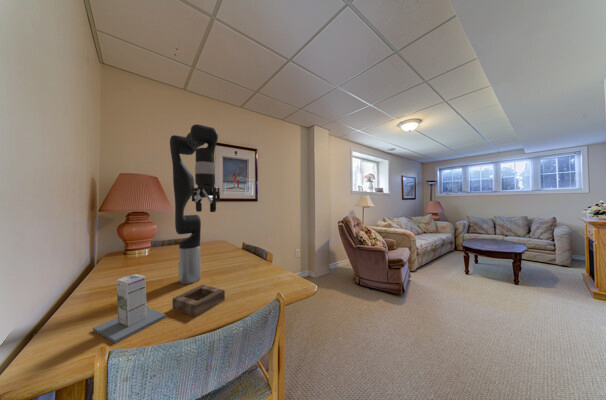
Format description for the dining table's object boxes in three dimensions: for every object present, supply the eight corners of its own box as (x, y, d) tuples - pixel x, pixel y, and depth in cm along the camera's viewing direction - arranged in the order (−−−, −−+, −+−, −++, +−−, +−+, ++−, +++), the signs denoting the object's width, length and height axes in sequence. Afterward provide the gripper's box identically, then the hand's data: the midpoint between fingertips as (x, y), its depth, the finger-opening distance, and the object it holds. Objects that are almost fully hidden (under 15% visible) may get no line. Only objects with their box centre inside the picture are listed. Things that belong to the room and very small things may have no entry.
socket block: (172, 308, 76) (172, 298, 76) (202, 293, 88) (202, 284, 88) (195, 317, 71) (195, 305, 70) (224, 299, 82) (224, 290, 82)
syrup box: (147, 317, 69) (146, 275, 69) (127, 327, 63) (126, 282, 63) (137, 314, 71) (136, 273, 71) (116, 323, 66) (115, 279, 65)
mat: (92, 330, 64) (92, 327, 64) (143, 308, 76) (143, 305, 76) (115, 343, 58) (115, 340, 58) (165, 317, 70) (165, 314, 70)
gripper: (224, 173, 86) (224, 211, 86) (201, 175, 92) (202, 210, 92) (209, 171, 79) (210, 212, 79) (185, 173, 85) (186, 212, 85)
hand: (205, 211), depth 85 cm, fingers open, 8 cm apart
